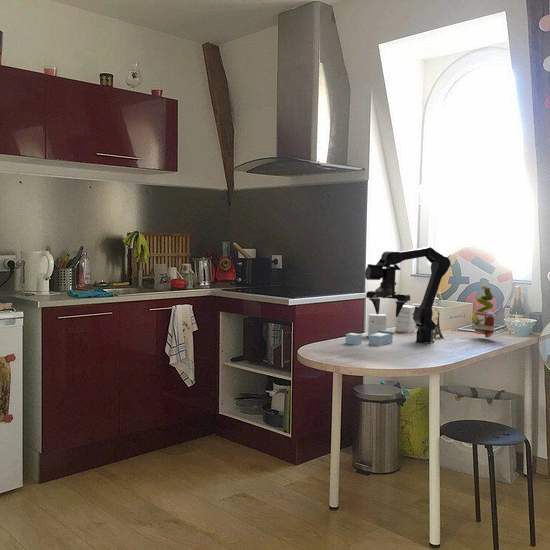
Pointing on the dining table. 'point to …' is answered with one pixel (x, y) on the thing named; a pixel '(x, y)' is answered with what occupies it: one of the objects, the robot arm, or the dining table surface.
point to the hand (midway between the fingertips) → (387, 315)
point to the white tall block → (405, 319)
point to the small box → (376, 323)
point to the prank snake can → (484, 314)
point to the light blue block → (353, 338)
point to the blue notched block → (381, 338)
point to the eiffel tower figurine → (439, 332)
